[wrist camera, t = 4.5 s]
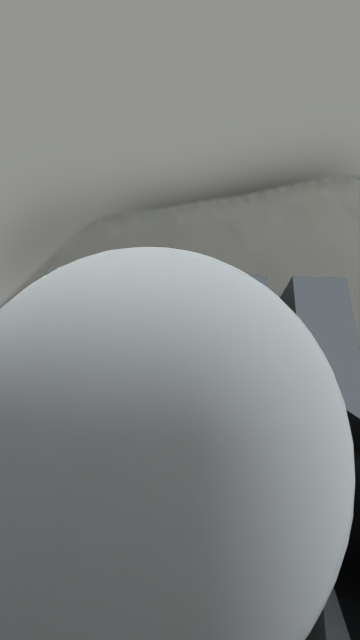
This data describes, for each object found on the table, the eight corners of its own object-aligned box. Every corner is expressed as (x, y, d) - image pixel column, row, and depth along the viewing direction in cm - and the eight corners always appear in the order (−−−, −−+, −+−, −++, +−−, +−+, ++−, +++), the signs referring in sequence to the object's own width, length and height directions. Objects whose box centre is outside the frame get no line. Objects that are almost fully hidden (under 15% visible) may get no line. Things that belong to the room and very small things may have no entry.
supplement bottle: (96, 430, 15) (-264, 398, 3) (185, 349, 17) (156, 129, 5) (180, 544, 13) (-1, 1625, 1) (273, 438, 14) (613, 435, 3)
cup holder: (355, 650, 11) (431, 753, 8) (4, 601, 12) (-77, 668, 9) (314, 312, 17) (346, 277, 13) (77, 302, 18) (47, 267, 15)
